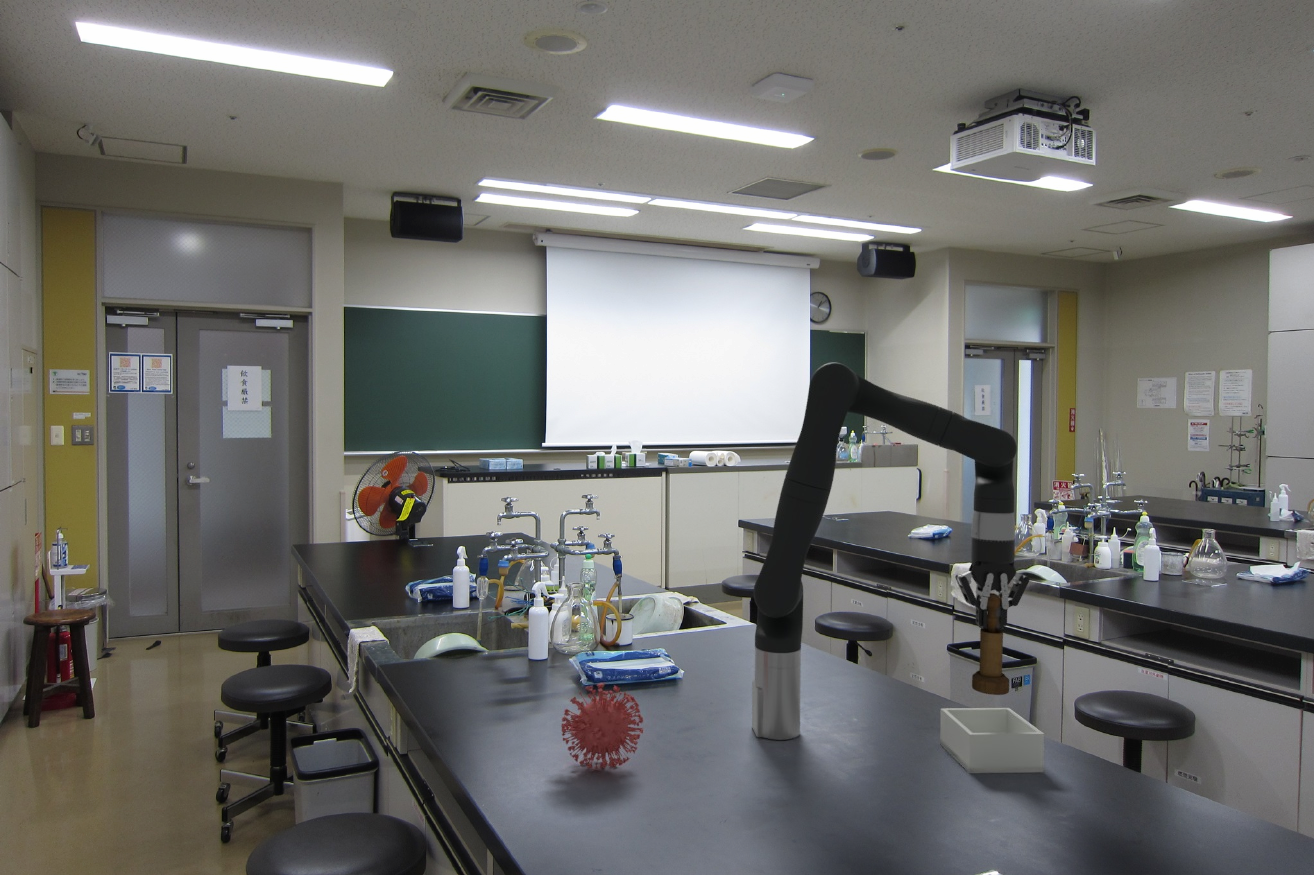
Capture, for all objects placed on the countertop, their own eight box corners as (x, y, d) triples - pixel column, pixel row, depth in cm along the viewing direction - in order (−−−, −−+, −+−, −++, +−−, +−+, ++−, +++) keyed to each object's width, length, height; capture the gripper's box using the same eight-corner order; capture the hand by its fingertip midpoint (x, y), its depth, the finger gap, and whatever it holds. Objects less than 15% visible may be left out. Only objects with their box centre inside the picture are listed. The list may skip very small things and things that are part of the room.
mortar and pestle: (1012, 696, 155) (1014, 598, 155) (975, 694, 156) (976, 596, 156) (1005, 685, 162) (1006, 591, 161) (969, 683, 163) (970, 589, 163)
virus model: (653, 757, 158) (654, 677, 158) (624, 790, 144) (625, 702, 144) (581, 746, 163) (581, 669, 163) (546, 777, 149) (546, 693, 149)
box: (969, 773, 152) (969, 734, 152) (940, 744, 166) (940, 708, 166) (1043, 772, 153) (1044, 733, 153) (1008, 743, 166) (1008, 708, 166)
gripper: (964, 538, 154) (962, 633, 155) (1039, 538, 155) (1037, 633, 155) (948, 533, 162) (946, 623, 162) (1020, 533, 163) (1018, 623, 163)
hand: (991, 627), depth 159 cm, fingers closed on mortar and pestle, 2 cm apart
